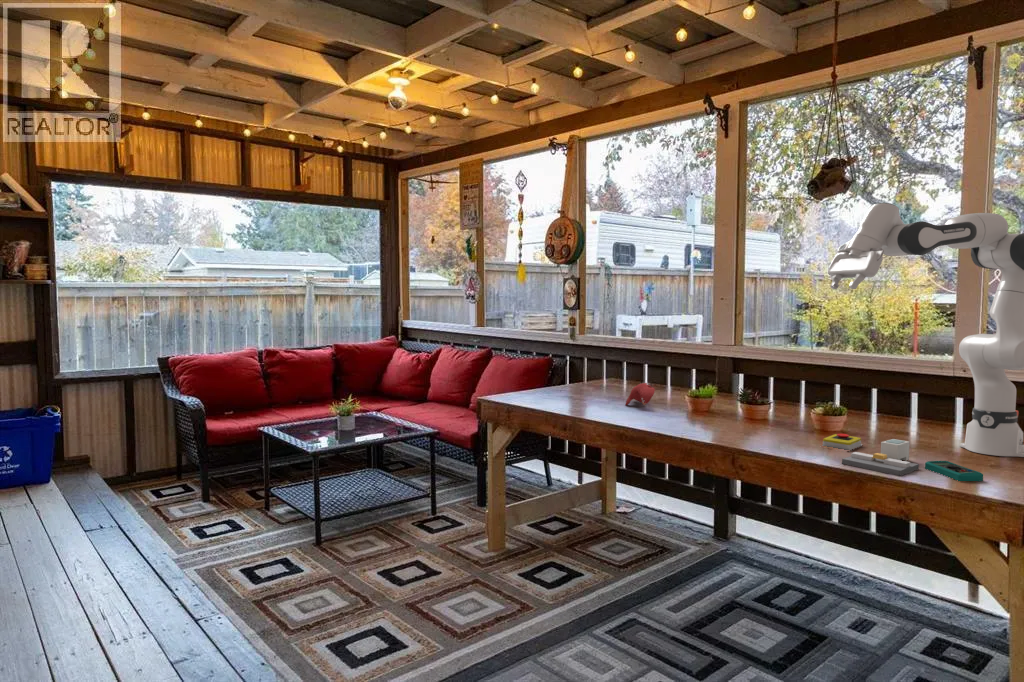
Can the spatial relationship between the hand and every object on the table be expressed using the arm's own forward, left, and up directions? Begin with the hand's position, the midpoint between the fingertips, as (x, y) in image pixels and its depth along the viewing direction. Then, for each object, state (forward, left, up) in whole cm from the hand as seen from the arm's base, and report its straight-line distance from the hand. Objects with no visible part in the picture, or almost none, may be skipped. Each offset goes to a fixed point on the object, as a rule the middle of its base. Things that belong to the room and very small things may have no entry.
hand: (842, 288), depth 209 cm
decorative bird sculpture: (-22, -106, -55) cm, 121 cm away
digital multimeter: (-8, +30, -55) cm, 63 cm away
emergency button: (-17, -7, -55) cm, 58 cm away
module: (-11, +13, -54) cm, 57 cm away
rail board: (0, +13, -54) cm, 56 cm away
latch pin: (0, +13, -52) cm, 54 cm away
